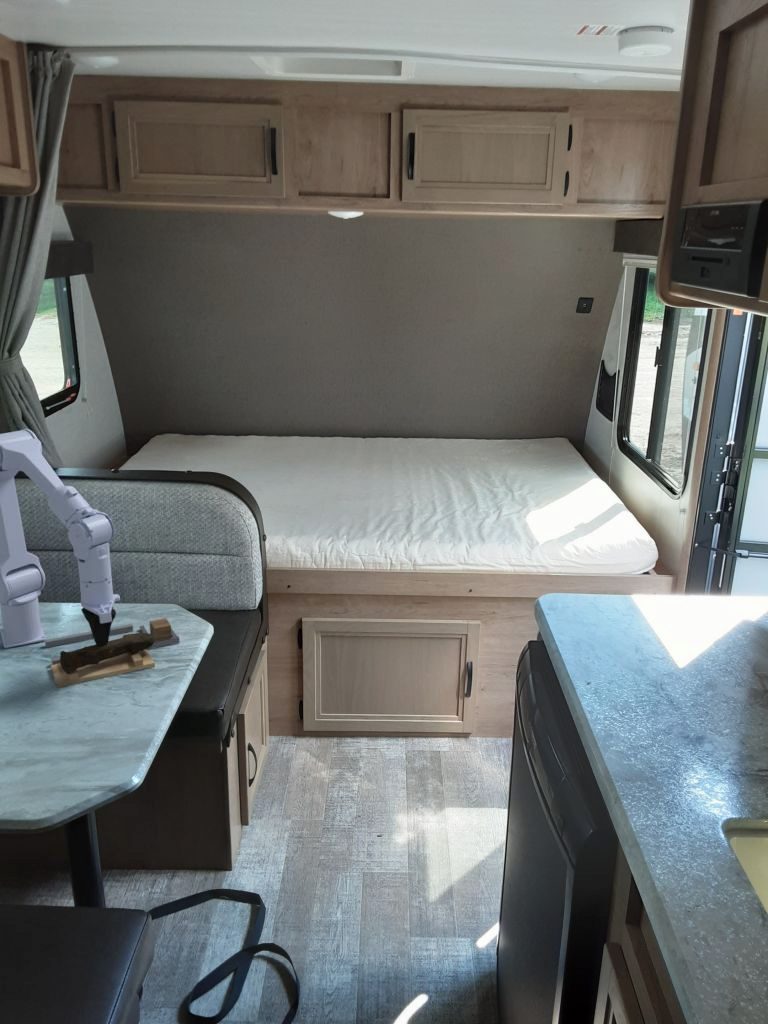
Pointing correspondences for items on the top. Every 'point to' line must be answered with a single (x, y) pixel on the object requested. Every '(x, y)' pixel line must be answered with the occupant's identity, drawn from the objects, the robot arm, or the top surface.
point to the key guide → (165, 641)
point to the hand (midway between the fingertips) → (101, 643)
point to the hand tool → (105, 651)
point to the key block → (160, 629)
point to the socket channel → (82, 638)
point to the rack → (103, 668)
